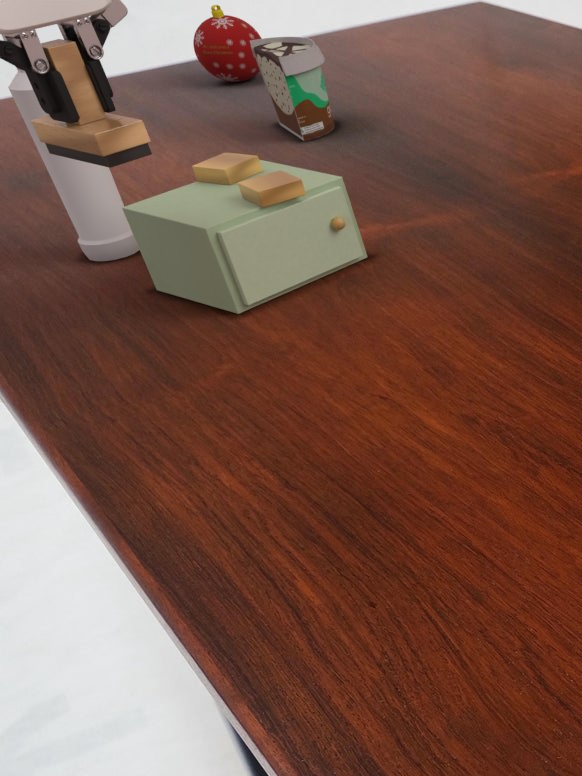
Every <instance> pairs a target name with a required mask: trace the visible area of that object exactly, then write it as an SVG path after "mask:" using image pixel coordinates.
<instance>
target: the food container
mask: <svg viewBox="0 0 582 776" xmlns="http://www.w3.org/2000/svg"><path fill="white" fill-rule="evenodd" d="M250 44H251V49H252V52H253V56H254V58H256V61H257V63H258V66H259V69H260V72H259V73H260V74H261V77H262V80H263V82H264V85H265V88H266V91H267V93H268V96H269V99H270V102H271V105H272V107H273V110H274V113H275V116H276V118H277V121H278V124H279V125H280V126H281V127H282V128H284V129H286V130H287V132H290V133H291V134H293V135H295V136H296V137H297V138H299V139H300V140H302V141H303V142H307V141H310V140H311V141H312V140H314V139H317V138H320V137H323V136H326V135H328V134H329V133H330V132H332V131H333V130H334V129H335V122H334V117H333V113H332V109H331V104H330V101H329V96H328V93H327V91H328V90H327V87H326V83H325V79H324V75H323V70H322V66H321V65H323V63H325V61H326V58H325V56H324V55H323V52H322V51H321V49H320V47H319V46H318V45H317V44H316V43H315V41H314V40H313V39H311V38H309V37H301V36H277V37H276V36H275V37H265V38H262V39H257V40H251V41H250Z"/></svg>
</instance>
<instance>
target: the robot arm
mask: <svg viewBox="0 0 582 776" xmlns="http://www.w3.org/2000/svg"><path fill="white" fill-rule="evenodd" d="M128 13H129V10H128V8H127V6H126V5H125V4H124V3H123V2H122V0H0V35H1V37H2V39H0V60H3V61H5V62H6V63H8V64H10V65H11V66H14V67H15V68H16V69H17V68H18V69H20V70H24V71H25V72H26V75H27V77H28V79H29V81H30V84H31V86H32V88H33V90H34V93H35V95H36V97H37V99H38V102H39V104H40V106H41V108H42V109H43V111H44V112H45V113H47V114H49V115H50V117H51V118H52V119H53V120H57V121H61V122H66V123H71V124H72V123H75V122H78V121H79V119H80V117H79V114H78V112H77V110H76V107H75V105H74V103H73V100H72V98H71V96H70V93H69V91H68V89H67V86H66V84H65V82H64V79H63V77H62V75H61V73H60V72H58V71H55V70H52V68H51V66H50V64H49V62H48V60H47V58H46V55H45V53H44V50H43V48H42V45H41V43H42V42H41V40H40V38H39V36H38V32H37V31H36V30H37V29H42V28H46V27H50V26H55V25H57V27H58V29H59V31H60V34H61V36H62V38H63V40H68V41H74V42H75V43H76V45H77V47H78V50H79V52H80V55H81V57H82V59H83V62H84V64H85V67H86V69H87V72H88V74H89V76H90V79H91V81H92V84H93V86H94V88H95V91H96V93H97V95H98V98H99V100H100V103H101V105H102V107H103V110H104V112H105V113H110V114H111V113H112V112H115V111H116V106H115V103H114V101H113V97H114V91H113V89H112V87H111V83H110V81H109V79H108V77H107V75H106V72H105V69H104V68H103V64H102V62H101V59H102V58H104V55H105V52H104V49H103V48H104V45H105V43H106V41H107V39H108V36H109V34H110V32H111V29H112V28H114V27H115V26H116V25H118V24H119V23H120V22H121V21H122V20H123V19H124V18H125V17H126V16H128Z"/></svg>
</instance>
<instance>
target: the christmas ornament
mask: <svg viewBox="0 0 582 776" xmlns="http://www.w3.org/2000/svg"><path fill="white" fill-rule="evenodd" d="M210 9H211V11H210V12H211V15H212V16H211V17H209V18H207V19H205V20H203V22H201V23H200V24H199V26H198V27H196V30H195V32H194V35H193V51H194V55H195V56H196V59H197V60H198V62H199V63H200V64H201V66H202V67H203V69H205V70H206V71H207V72H208V73H210V75H212V76H214V77H216V78H218V79H220V80H223V81H225V82H229V83H230V82H231V83H239V82H245V81H249V80H251V79H252V78H254V77H256V76H258V74H259V73H261V72H260V69H259V66H258V63H257V61H256V58H254V56H253V52H252V49H251V44H250V41H251V40H257V39H263V38H262V36H261V35H260V33H259V32H258V31H257V29H255V28H254V26H252V25H251V24H250V23H248V22H247V21H246V20H243V19H241V18H240V17H237V16H233V15H228V14H224V11H223V10H222V9H221V5H219V4H213V5H212V6H211V7H210Z"/></svg>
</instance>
